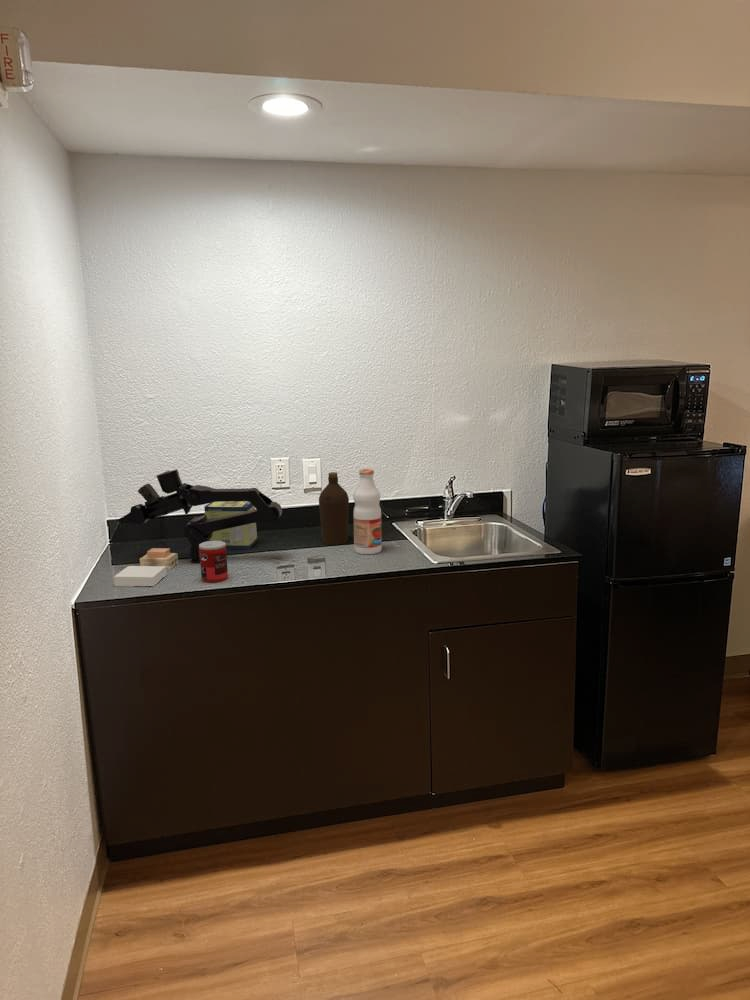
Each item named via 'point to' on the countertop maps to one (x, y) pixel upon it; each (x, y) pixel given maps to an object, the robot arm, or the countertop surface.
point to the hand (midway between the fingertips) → (124, 519)
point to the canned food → (213, 561)
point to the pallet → (160, 561)
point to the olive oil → (334, 512)
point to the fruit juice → (367, 515)
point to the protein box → (237, 535)
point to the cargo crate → (158, 553)
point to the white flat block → (140, 576)
